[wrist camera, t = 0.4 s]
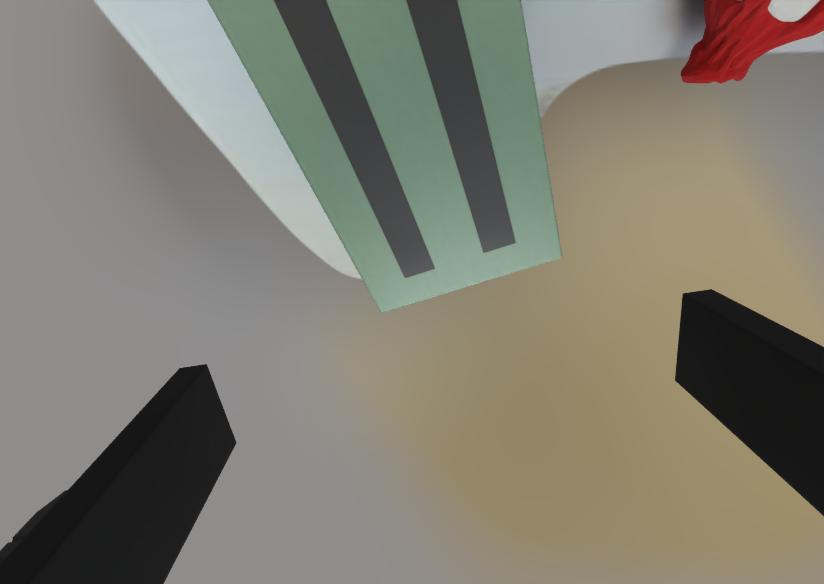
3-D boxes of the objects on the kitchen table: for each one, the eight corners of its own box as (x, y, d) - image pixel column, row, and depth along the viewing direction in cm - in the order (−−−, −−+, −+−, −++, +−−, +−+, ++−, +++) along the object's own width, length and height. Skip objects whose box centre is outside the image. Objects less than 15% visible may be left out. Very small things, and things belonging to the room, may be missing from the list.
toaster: (269, -49, 27) (169, -50, 15) (441, -134, 25) (497, -221, 12) (385, 209, 39) (385, 331, 26) (508, 166, 37) (571, 275, 24)
